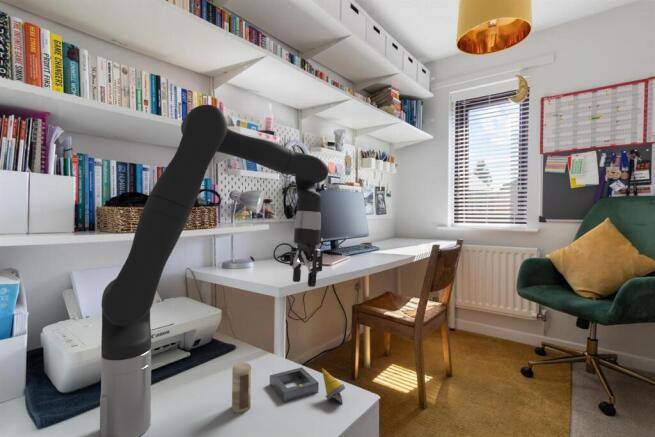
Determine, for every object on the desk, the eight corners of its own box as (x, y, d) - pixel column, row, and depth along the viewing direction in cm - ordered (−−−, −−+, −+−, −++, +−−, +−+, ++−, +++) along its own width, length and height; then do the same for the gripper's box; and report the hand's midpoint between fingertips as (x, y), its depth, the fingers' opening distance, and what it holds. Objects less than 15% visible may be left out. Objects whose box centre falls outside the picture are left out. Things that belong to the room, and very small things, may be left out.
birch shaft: (234, 415, 77) (235, 373, 77) (229, 405, 81) (230, 365, 81) (253, 409, 80) (253, 368, 79) (247, 400, 83) (247, 361, 83)
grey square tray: (284, 402, 83) (284, 391, 83) (269, 384, 91) (269, 374, 91) (318, 391, 88) (318, 381, 88) (301, 375, 97) (301, 366, 97)
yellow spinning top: (331, 412, 80) (310, 374, 85) (336, 410, 85) (316, 374, 89) (349, 398, 80) (327, 361, 85) (353, 397, 85) (332, 362, 90)
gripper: (284, 226, 99) (280, 280, 98) (309, 227, 87) (305, 288, 86) (306, 228, 103) (302, 280, 102) (332, 229, 91) (328, 287, 90)
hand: (303, 284), depth 94 cm, fingers open, 8 cm apart
